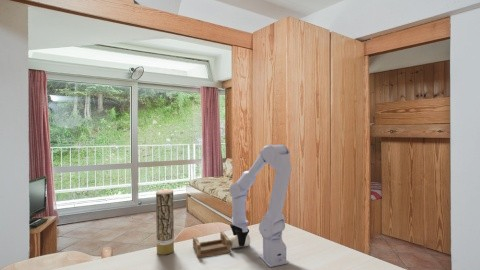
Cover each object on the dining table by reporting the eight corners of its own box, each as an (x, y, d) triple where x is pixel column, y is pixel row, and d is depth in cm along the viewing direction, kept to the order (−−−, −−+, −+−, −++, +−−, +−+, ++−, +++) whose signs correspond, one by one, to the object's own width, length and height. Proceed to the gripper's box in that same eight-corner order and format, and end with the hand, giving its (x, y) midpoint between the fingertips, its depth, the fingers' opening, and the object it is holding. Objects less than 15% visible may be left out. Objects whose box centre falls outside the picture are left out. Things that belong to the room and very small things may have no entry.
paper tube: (169, 256, 103) (168, 193, 103) (153, 254, 104) (152, 192, 104) (176, 248, 110) (176, 189, 110) (161, 247, 111) (161, 189, 111)
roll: (250, 247, 110) (250, 235, 110) (232, 250, 107) (231, 238, 107) (246, 242, 115) (246, 231, 115) (228, 245, 112) (228, 234, 112)
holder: (230, 252, 106) (230, 240, 106) (197, 258, 101) (197, 245, 101) (223, 242, 115) (223, 231, 115) (192, 247, 111) (192, 236, 111)
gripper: (254, 215, 106) (254, 248, 106) (241, 206, 119) (242, 235, 119) (238, 217, 103) (238, 251, 103) (227, 207, 117) (227, 238, 117)
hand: (239, 243), depth 111 cm, fingers closed on roll, 5 cm apart
